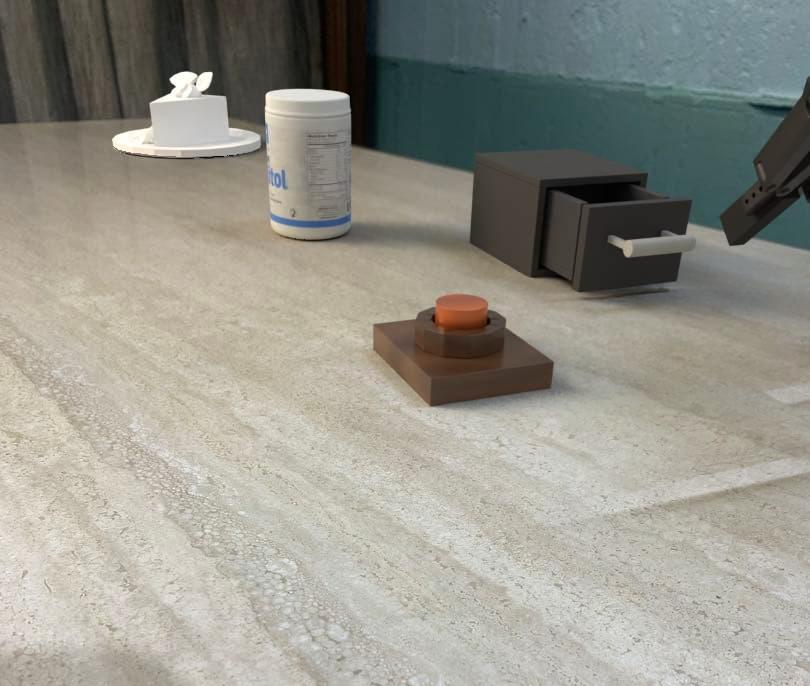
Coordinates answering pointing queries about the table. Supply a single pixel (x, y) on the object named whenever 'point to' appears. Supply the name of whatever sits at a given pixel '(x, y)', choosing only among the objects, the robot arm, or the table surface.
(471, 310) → the button
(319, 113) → the supplement tub
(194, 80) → the white cake on plate
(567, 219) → the drawer
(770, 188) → the robot arm
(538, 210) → the small cabinet
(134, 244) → the table surface
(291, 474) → the table surface
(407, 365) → the block
